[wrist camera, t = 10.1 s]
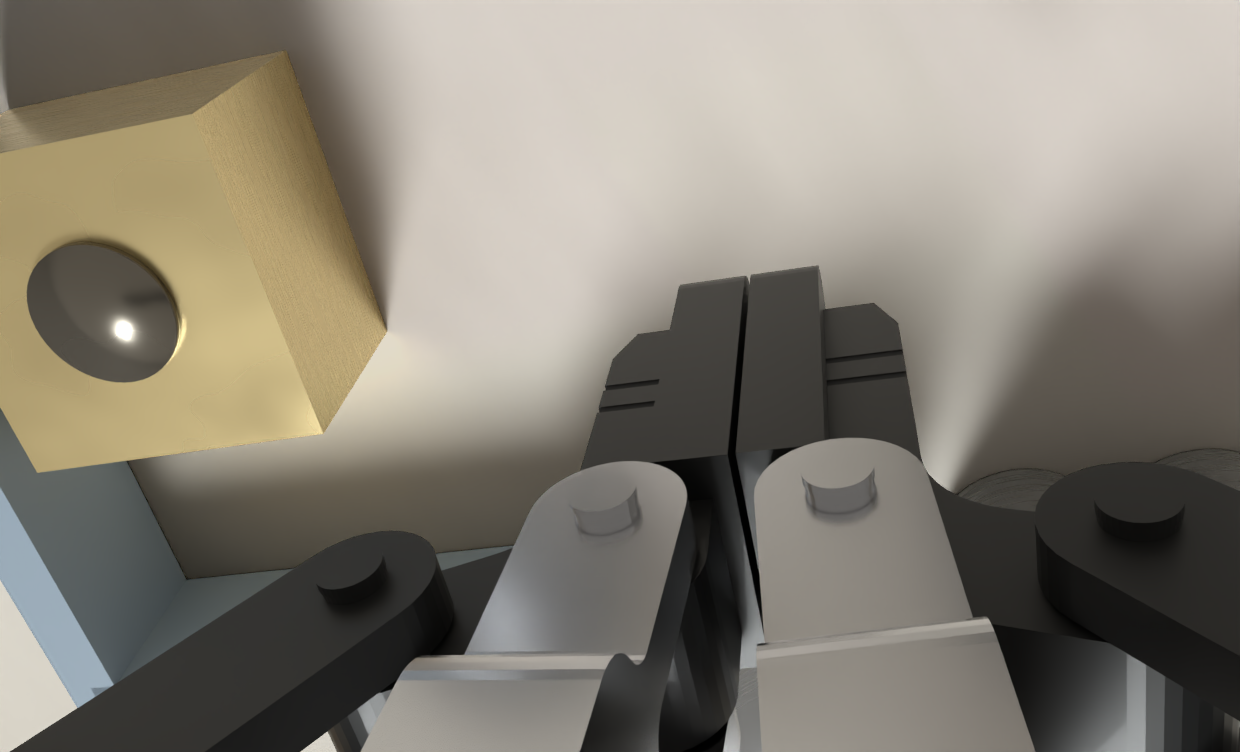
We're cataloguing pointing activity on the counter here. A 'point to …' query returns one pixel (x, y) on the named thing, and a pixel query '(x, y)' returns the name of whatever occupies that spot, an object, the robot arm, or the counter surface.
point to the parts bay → (106, 570)
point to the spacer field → (1009, 493)
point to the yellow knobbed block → (175, 269)
